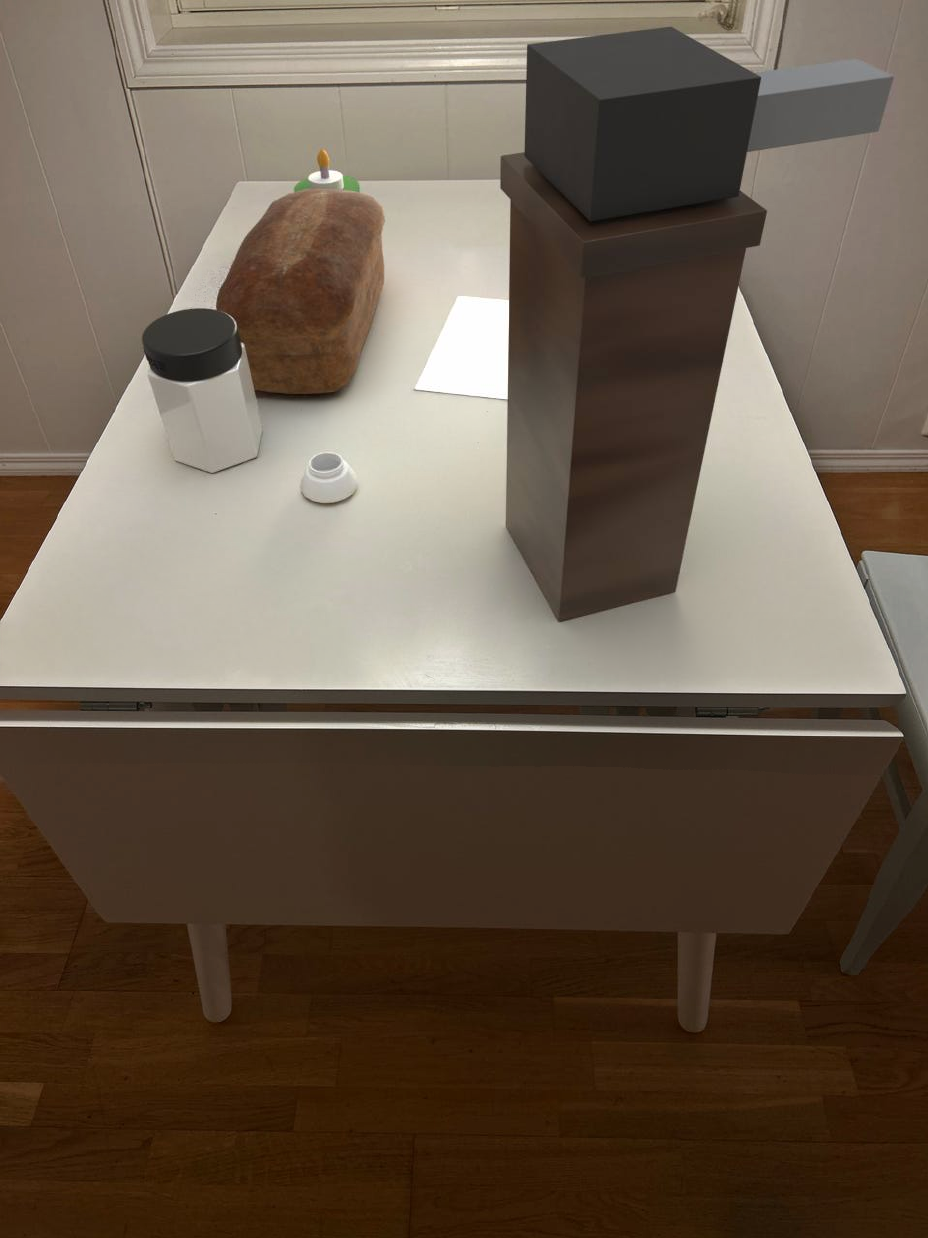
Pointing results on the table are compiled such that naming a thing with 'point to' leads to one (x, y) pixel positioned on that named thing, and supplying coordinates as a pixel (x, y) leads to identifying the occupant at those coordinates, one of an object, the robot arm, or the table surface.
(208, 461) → the jar
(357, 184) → the candle
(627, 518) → the stand
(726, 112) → the sledgehammer head
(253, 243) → the bread
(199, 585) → the table surface
